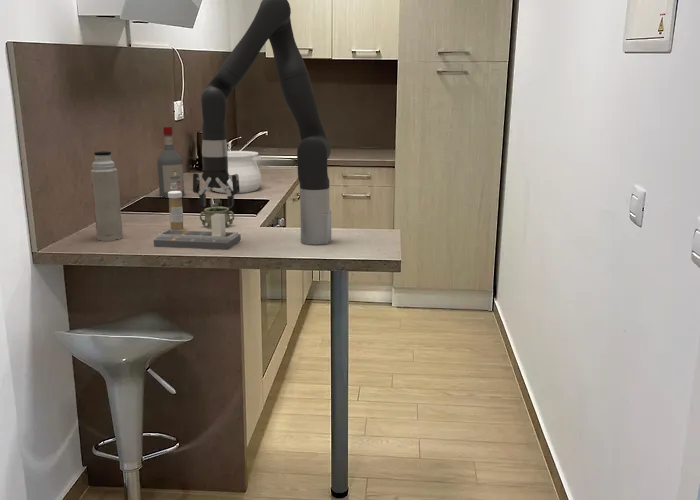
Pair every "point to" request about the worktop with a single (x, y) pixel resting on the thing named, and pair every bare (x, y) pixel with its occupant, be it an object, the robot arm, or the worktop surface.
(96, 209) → the thermos bottle
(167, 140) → the liquor
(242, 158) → the pot
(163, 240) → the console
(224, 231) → the block
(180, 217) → the sprinkles bottle
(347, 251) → the worktop surface
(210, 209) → the vessel
